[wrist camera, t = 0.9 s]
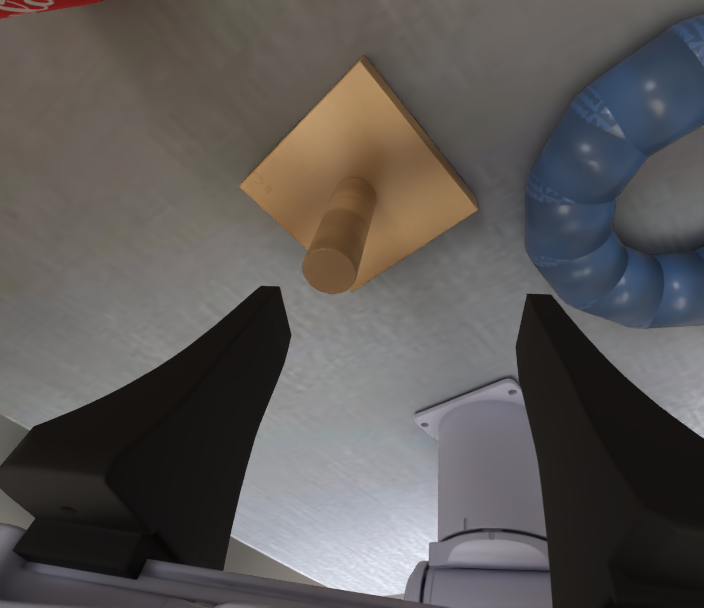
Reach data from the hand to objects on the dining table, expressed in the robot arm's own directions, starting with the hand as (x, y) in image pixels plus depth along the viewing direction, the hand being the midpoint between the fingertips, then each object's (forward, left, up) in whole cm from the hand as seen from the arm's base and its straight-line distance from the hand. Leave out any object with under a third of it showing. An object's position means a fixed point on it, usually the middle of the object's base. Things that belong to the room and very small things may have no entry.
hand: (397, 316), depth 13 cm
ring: (-7, -9, -8) cm, 14 cm away
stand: (+1, +2, -10) cm, 10 cm away
